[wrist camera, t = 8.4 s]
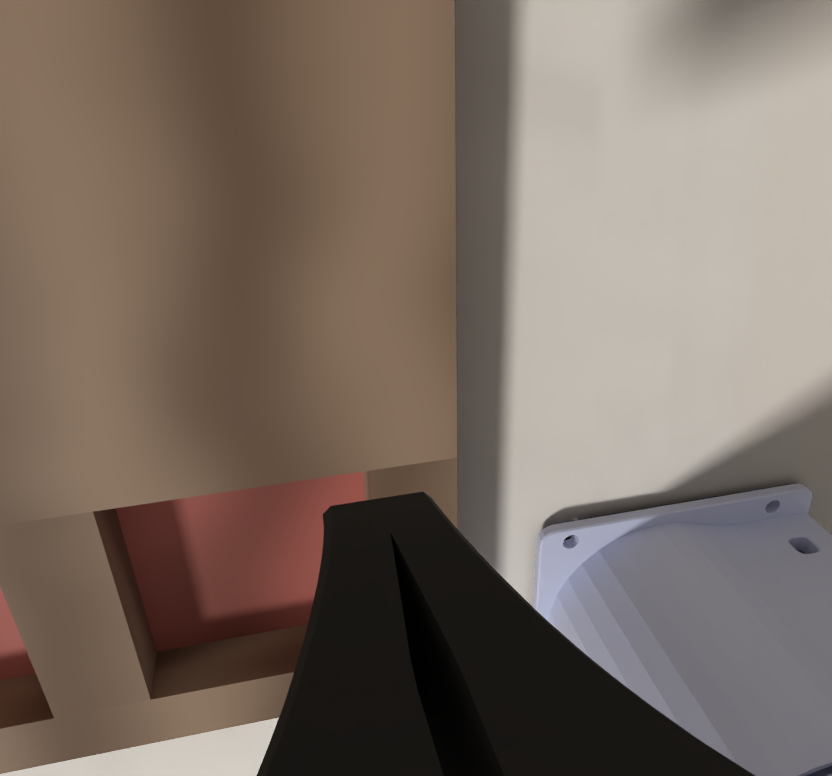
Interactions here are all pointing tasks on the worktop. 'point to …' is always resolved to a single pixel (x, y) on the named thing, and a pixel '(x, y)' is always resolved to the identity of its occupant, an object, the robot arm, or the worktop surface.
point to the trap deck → (208, 341)
